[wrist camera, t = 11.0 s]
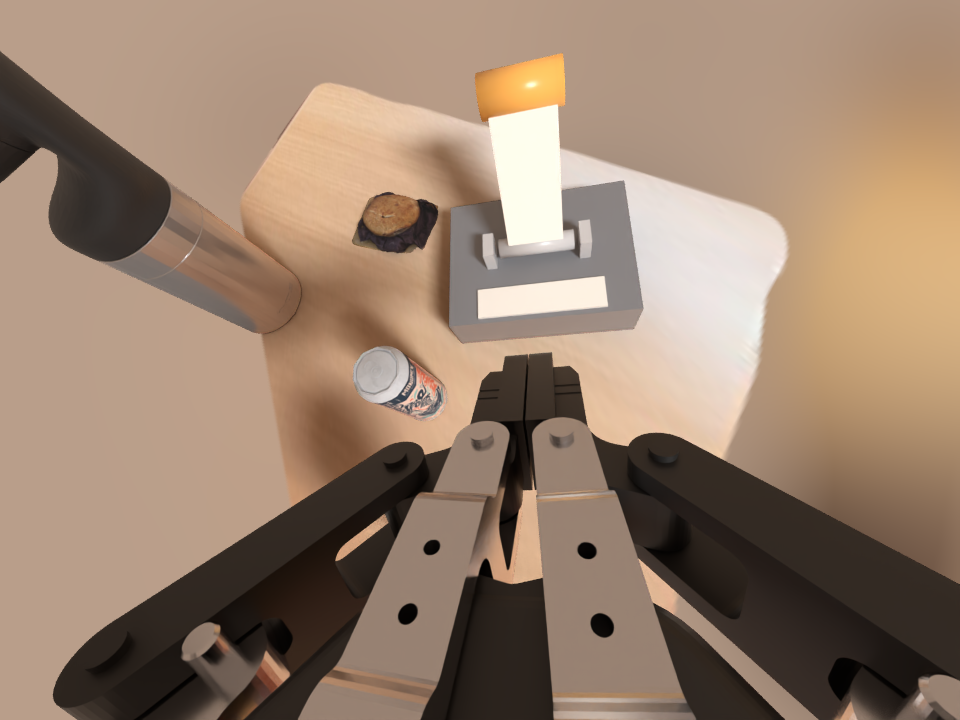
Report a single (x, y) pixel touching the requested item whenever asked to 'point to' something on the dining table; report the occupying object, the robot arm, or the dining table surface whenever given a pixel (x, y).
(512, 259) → the block
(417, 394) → the beer can
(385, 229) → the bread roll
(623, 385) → the dining table surface
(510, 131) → the breaker lever
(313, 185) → the dining table surface
